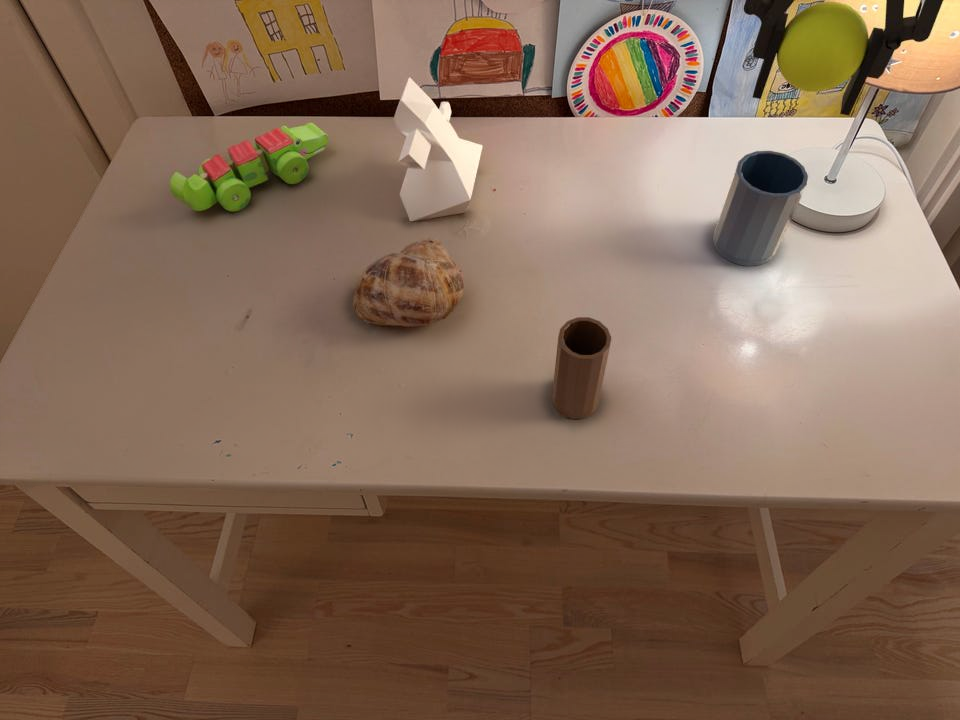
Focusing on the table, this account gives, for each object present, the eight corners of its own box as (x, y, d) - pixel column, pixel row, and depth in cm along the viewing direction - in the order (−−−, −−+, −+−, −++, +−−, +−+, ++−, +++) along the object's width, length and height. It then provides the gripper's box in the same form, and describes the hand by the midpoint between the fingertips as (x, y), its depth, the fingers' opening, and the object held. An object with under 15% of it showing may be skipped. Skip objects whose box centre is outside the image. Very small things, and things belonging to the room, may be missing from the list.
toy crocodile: (315, 137, 91) (304, 96, 86) (341, 163, 88) (332, 122, 83) (173, 203, 85) (153, 162, 80) (196, 233, 82) (176, 193, 77)
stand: (607, 408, 67) (621, 347, 59) (565, 426, 66) (574, 366, 58) (584, 374, 69) (595, 310, 61) (543, 390, 68) (549, 327, 60)
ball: (866, 96, 61) (902, 18, 55) (797, 117, 60) (827, 40, 54) (815, 54, 65) (845, -23, 59) (750, 73, 64) (774, -3, 58)
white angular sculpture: (486, 155, 88) (483, 53, 77) (468, 233, 81) (463, 134, 69) (420, 150, 89) (408, 49, 78) (397, 227, 81) (380, 128, 70)
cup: (789, 253, 77) (822, 183, 69) (737, 274, 76) (765, 204, 68) (750, 214, 81) (778, 143, 73) (700, 233, 80) (723, 162, 71)
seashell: (415, 243, 79) (439, 211, 69) (460, 310, 79) (490, 287, 70) (337, 290, 75) (350, 262, 66) (384, 360, 75) (404, 342, 66)
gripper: (1097, -226, 44) (920, 94, 63) (775, -251, 49) (699, 55, 68) (1112, -182, 40) (918, 145, 59) (759, -214, 45) (683, 100, 64)
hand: (801, 97), depth 63 cm, fingers closed on ball, 7 cm apart
